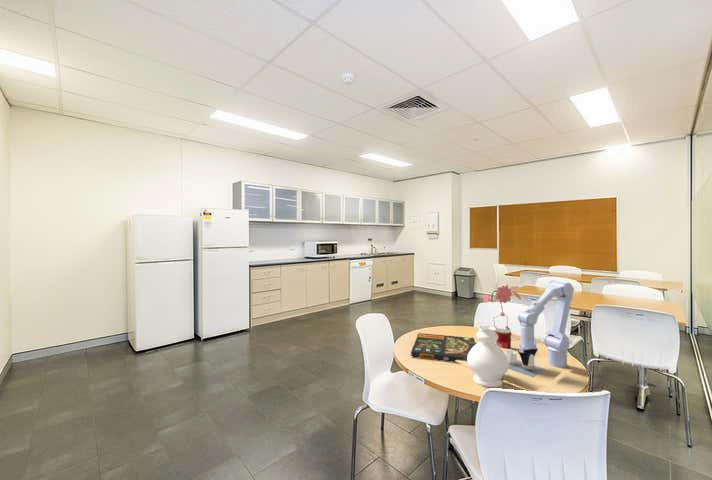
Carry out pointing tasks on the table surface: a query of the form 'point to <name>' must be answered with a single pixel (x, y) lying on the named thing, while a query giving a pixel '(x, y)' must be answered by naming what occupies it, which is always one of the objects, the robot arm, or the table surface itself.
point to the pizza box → (442, 347)
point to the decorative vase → (487, 358)
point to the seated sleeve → (511, 357)
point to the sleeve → (529, 363)
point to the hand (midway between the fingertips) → (527, 363)
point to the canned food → (504, 338)
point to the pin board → (526, 371)
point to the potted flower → (502, 299)
